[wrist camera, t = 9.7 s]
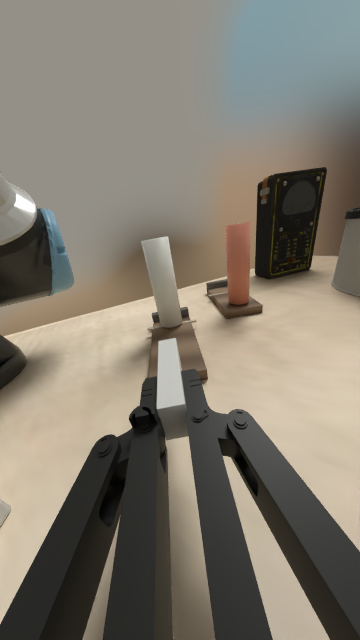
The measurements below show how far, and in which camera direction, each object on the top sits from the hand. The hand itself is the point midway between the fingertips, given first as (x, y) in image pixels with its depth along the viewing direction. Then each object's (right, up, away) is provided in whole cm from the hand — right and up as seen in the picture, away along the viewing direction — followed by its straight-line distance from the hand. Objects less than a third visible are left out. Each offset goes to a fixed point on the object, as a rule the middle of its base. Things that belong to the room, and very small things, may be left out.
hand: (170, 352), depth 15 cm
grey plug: (-1, +2, +17) cm, 17 cm away
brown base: (+13, +7, +26) cm, 30 cm away
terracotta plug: (+13, +7, +21) cm, 25 cm away
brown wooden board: (0, -1, +13) cm, 13 cm away
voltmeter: (+33, +18, +40) cm, 55 cm away
